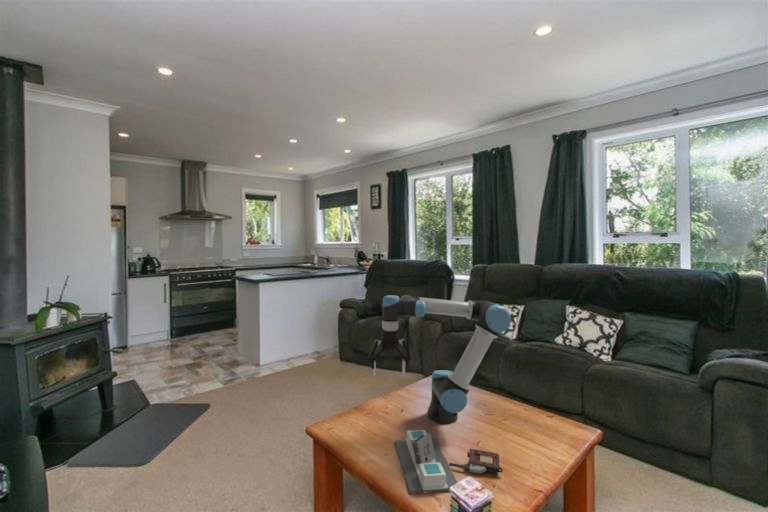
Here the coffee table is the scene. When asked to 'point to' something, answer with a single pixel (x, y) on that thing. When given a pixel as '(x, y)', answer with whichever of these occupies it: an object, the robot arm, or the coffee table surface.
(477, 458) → the walkie-talkie
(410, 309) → the robot arm
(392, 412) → the coffee table surface
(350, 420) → the coffee table surface
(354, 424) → the coffee table surface
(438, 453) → the rail board
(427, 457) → the electrical switch
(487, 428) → the coffee table surface
